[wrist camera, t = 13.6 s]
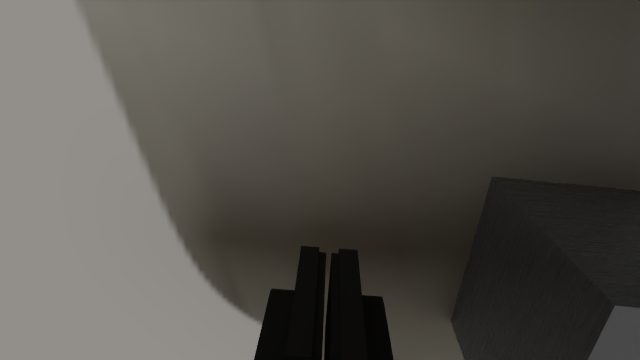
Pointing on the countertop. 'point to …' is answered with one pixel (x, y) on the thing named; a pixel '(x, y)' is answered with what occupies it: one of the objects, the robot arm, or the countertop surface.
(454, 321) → the grey stone cube
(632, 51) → the countertop surface
